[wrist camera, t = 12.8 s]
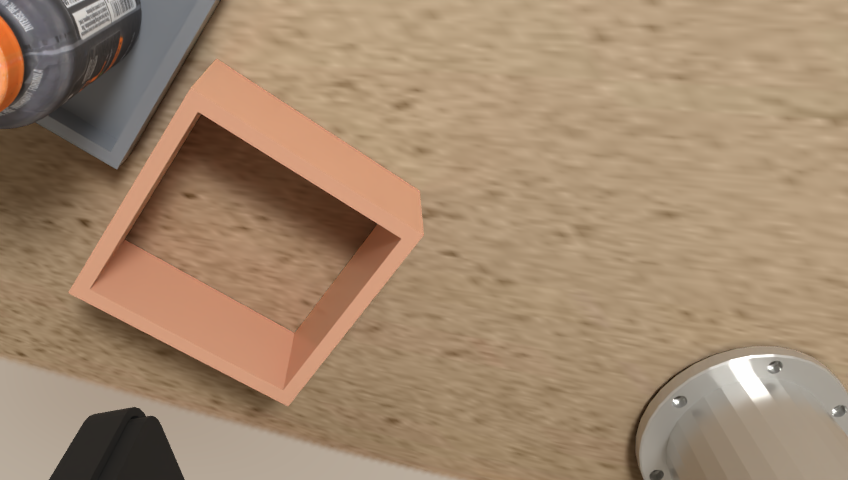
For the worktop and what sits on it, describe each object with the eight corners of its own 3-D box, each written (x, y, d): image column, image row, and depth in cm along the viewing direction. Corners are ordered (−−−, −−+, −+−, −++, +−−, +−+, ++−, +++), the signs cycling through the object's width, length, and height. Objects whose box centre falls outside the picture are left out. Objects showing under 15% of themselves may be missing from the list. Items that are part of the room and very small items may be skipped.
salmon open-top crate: (419, 190, 38) (423, 234, 33) (298, 348, 42) (287, 406, 37) (216, 58, 35) (190, 87, 30) (105, 242, 38) (68, 292, 34)
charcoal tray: (239, -32, 33) (230, -26, 31) (130, 154, 36) (116, 169, 35) (6, -195, 30) (-19, -198, 28) (-88, 25, 33) (-115, 35, 32)
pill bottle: (57, 92, 34) (-83, 188, 24) (-29, -35, 32) (-224, 13, 22) (171, 37, 33) (76, 114, 23) (93, -98, 31) (-52, -78, 21)
